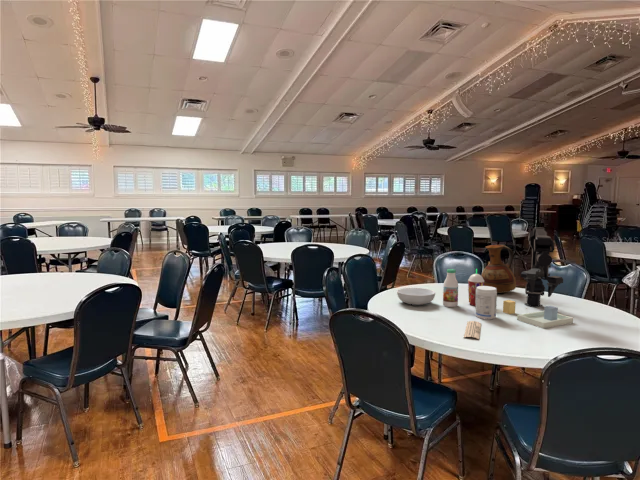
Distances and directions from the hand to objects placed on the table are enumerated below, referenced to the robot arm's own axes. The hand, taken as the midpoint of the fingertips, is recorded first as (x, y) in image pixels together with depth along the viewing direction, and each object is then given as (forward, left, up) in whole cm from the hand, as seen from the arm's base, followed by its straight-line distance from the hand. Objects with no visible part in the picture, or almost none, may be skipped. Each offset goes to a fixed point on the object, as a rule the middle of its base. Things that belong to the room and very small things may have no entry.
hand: (540, 294), depth 198 cm
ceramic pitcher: (-27, -50, -12) cm, 58 cm away
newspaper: (+43, +2, -13) cm, 45 cm away
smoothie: (+9, -32, -12) cm, 36 cm away
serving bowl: (+37, -48, -12) cm, 62 cm away
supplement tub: (+22, -12, -12) cm, 28 cm away
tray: (+2, +5, -12) cm, 13 cm away
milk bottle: (+23, -36, -12) cm, 45 cm away
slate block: (-2, +5, -11) cm, 12 cm away
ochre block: (+5, -13, -12) cm, 18 cm away
